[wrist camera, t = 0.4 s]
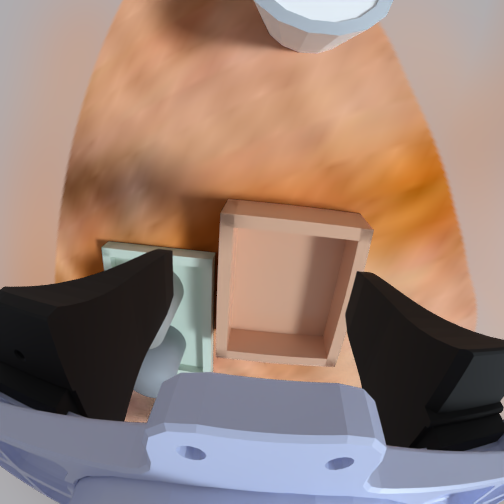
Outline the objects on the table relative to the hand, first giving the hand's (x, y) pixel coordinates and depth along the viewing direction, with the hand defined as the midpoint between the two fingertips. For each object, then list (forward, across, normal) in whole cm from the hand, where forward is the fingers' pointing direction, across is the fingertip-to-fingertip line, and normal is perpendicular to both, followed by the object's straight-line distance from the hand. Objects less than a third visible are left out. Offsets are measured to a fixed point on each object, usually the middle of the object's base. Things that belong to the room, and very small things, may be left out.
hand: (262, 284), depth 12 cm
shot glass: (+10, -1, -14) cm, 17 cm away
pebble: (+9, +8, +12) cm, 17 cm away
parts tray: (+10, +8, +9) cm, 16 cm away
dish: (+10, -2, +5) cm, 11 cm away
